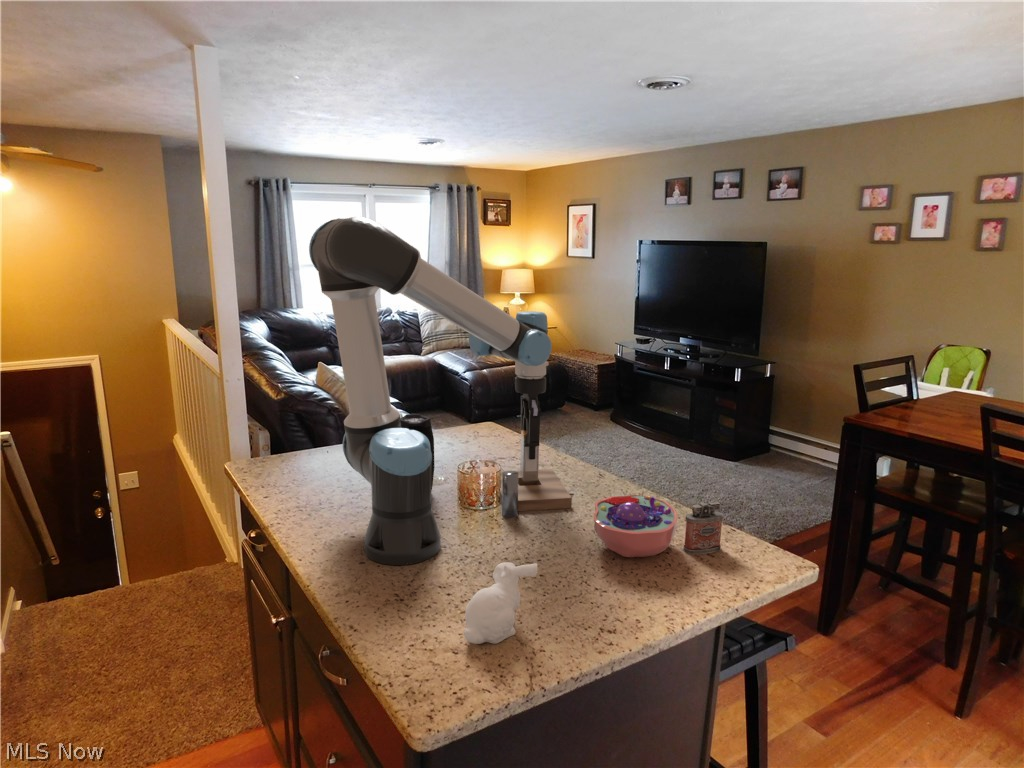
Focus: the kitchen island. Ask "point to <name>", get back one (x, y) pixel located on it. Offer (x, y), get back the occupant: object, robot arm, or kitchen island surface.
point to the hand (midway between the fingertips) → (529, 467)
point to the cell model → (635, 524)
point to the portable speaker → (423, 426)
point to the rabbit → (496, 605)
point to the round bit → (510, 494)
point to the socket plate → (541, 492)
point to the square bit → (524, 475)
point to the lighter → (703, 529)
